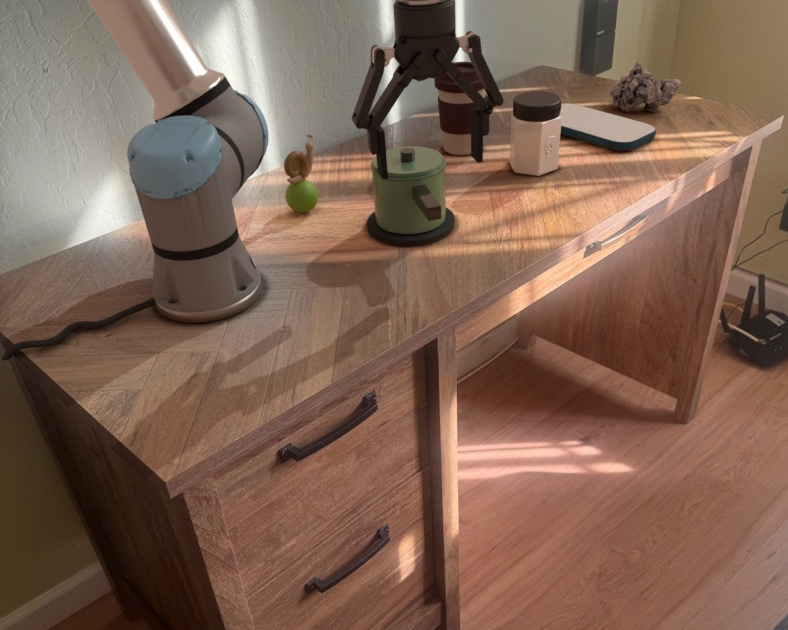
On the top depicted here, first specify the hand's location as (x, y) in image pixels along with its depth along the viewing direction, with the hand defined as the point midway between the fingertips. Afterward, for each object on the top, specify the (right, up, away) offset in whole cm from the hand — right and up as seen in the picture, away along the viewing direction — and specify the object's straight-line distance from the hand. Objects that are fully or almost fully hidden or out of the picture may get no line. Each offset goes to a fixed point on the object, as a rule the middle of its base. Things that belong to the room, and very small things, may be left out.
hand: (430, 167), depth 105 cm
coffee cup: (+8, +16, +41) cm, 44 cm away
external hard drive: (+34, +20, +43) cm, 58 cm away
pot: (-1, -5, +13) cm, 14 cm away
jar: (+20, +10, +32) cm, 39 cm away
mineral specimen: (+45, +28, +52) cm, 74 cm away
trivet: (-2, -4, +17) cm, 18 cm away
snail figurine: (-20, 0, +24) cm, 31 cm away
